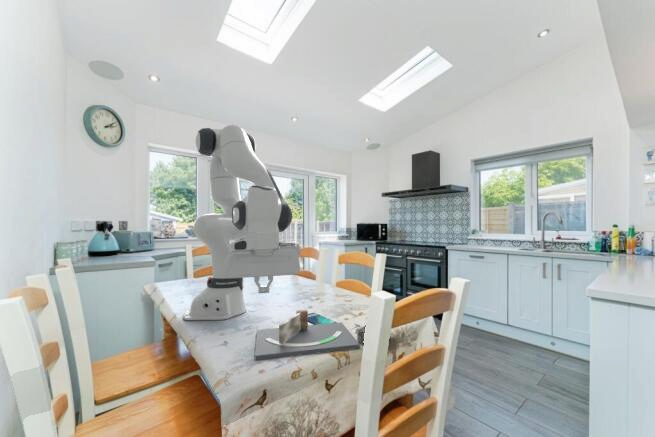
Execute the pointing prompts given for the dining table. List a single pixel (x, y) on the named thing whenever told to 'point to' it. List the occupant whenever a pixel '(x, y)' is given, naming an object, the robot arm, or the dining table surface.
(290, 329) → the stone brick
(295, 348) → the arc gauge board
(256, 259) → the robot arm
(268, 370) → the dining table surface
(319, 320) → the smartphone
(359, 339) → the egg carton
